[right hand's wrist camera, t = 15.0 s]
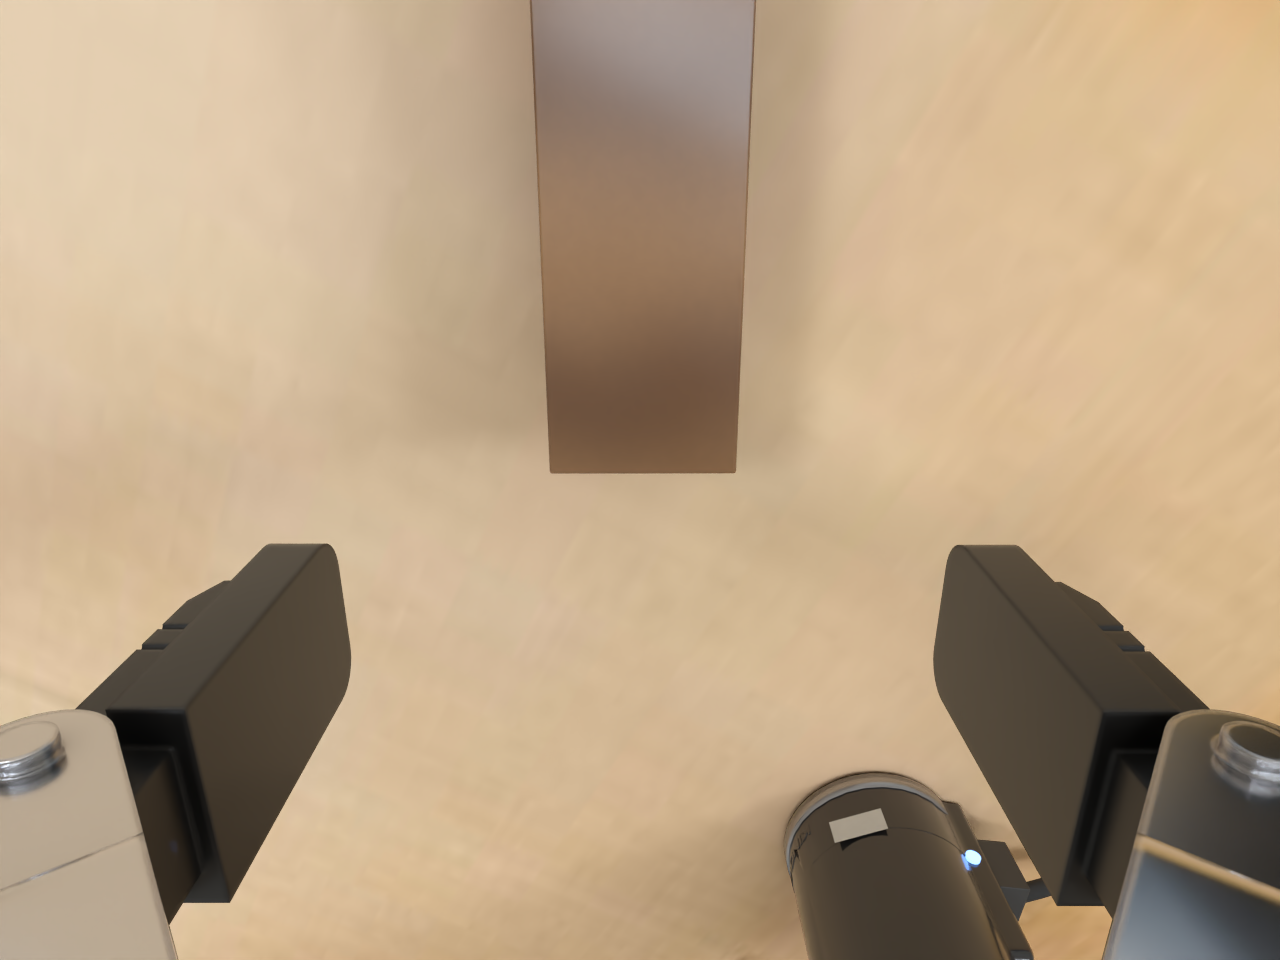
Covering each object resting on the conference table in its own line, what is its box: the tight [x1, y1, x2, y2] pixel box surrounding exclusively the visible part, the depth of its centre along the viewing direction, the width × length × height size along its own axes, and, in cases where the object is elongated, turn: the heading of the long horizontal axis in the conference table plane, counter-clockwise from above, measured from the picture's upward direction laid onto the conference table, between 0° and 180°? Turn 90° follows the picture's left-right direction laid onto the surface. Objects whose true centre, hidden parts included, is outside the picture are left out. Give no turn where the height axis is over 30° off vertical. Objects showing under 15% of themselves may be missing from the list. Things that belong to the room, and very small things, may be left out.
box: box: [530, 0, 756, 473], centre depth 28 cm, size 22×6×12 cm, turn 0°
